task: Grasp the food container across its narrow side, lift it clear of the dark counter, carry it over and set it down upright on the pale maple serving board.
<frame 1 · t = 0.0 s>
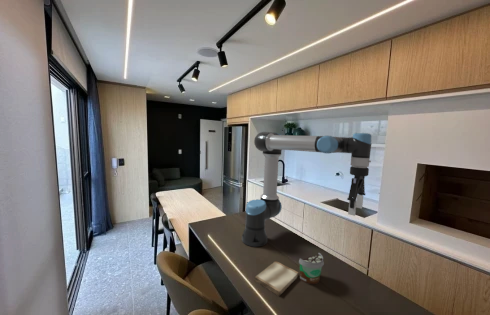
hand: (355, 211, 95), 28 cm above the kitchen island, fingers open, 13 cm apart
food container: (313, 281, 87), on the kitchen island
board: (277, 278, 87), on the kitchen island
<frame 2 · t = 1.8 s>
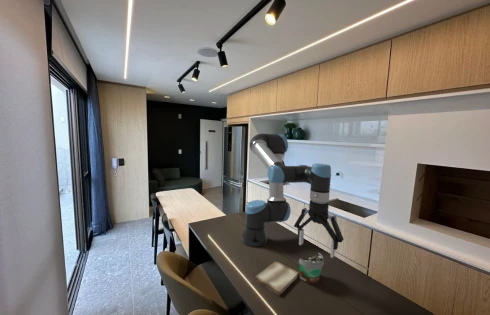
hand: (315, 249, 85), 14 cm above the kitchen island, fingers open, 13 cm apart
nothing on the kitchen island moved.
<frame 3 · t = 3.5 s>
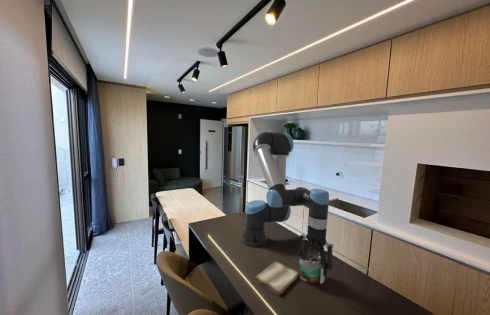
hand: (313, 277, 87), 2 cm above the kitchen island, fingers closed on food container, 7 cm apart
food container: (313, 281, 87), on the kitchen island, touching gripper
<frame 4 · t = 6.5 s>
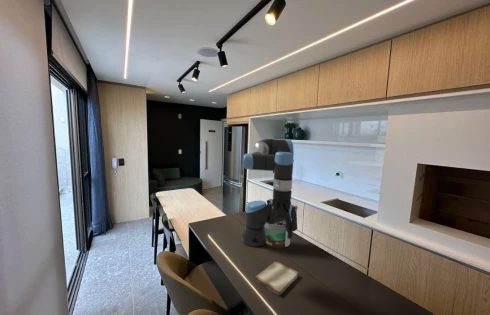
hand: (279, 241, 86), 17 cm above the kitchen island, fingers closed on food container, 7 cm apart
food container: (279, 245, 86), point 15 cm above the kitchen island, touching gripper
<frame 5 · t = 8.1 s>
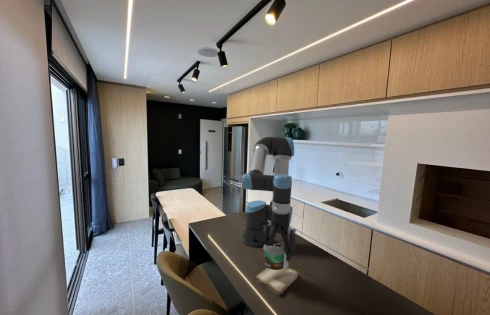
hand: (277, 263, 87), 7 cm above the kitchen island, fingers closed on food container, 7 cm apart
food container: (278, 267, 87), point 5 cm above the kitchen island, touching gripper
when the fingers open (5 cm above the kitchen island, at t = 9.4 s): food container drops 2 cm, resting on board.
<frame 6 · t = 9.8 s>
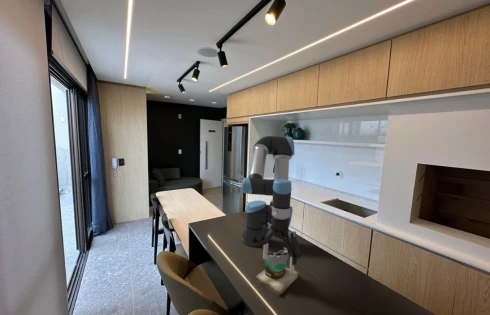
hand: (277, 264, 87), 7 cm above the kitchen island, fingers open, 13 cm apart
food container: (278, 275, 87), point 2 cm above the kitchen island, touching board
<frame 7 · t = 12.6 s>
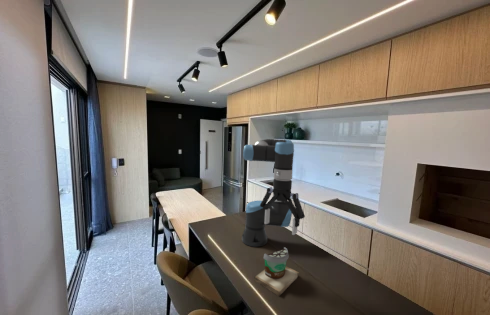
hand: (279, 228, 85), 23 cm above the kitchen island, fingers open, 13 cm apart
nothing on the kitchen island moved.
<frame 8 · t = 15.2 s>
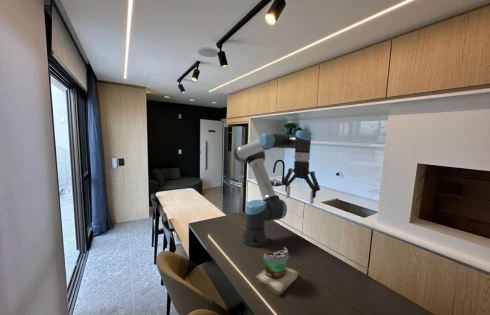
hand: (299, 200, 106), 29 cm above the kitchen island, fingers open, 13 cm apart
nothing on the kitchen island moved.
at the end: food container inside the target area on the board (0.5 cm from its centre), point 1.6 cm above the board's base; food container tilted 0°; the gripper is holding nothing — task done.
